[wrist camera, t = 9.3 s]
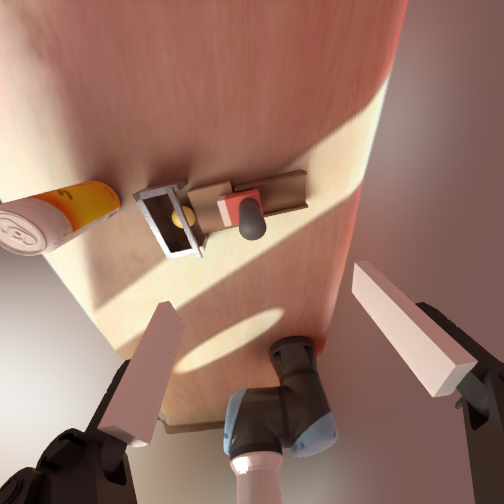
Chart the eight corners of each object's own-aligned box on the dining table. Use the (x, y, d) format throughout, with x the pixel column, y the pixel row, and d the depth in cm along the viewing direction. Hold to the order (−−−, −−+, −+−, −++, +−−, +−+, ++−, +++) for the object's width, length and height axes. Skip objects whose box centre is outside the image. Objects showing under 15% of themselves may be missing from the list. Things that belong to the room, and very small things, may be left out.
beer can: (93, 171, 30) (-14, 193, 17) (129, 198, 32) (58, 235, 20) (77, 197, 32) (-31, 234, 19) (112, 220, 34) (37, 267, 22)
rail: (303, 202, 35) (308, 207, 32) (242, 216, 36) (242, 222, 33) (300, 169, 32) (306, 171, 29) (234, 185, 32) (234, 188, 30)
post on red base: (261, 212, 33) (271, 240, 24) (225, 220, 33) (221, 251, 24) (256, 187, 31) (265, 207, 21) (218, 196, 31) (210, 220, 22)
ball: (173, 231, 34) (189, 222, 36) (186, 233, 31) (203, 223, 34) (163, 211, 32) (181, 202, 34) (176, 211, 29) (195, 202, 32)
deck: (241, 221, 36) (241, 225, 34) (204, 229, 37) (203, 234, 35) (230, 180, 32) (229, 182, 30) (189, 189, 32) (186, 192, 31)
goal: (208, 238, 38) (202, 258, 31) (175, 245, 38) (163, 267, 31) (185, 178, 31) (171, 187, 25) (146, 187, 32) (123, 199, 25)
